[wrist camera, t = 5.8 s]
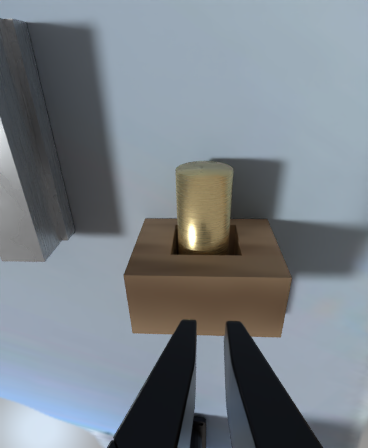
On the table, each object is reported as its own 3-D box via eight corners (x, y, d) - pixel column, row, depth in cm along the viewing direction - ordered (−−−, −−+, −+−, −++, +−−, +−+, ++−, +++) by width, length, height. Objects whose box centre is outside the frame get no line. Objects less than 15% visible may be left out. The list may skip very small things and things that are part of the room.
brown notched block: (256, 310, 23) (272, 384, 17) (154, 307, 23) (139, 378, 18) (267, 218, 19) (291, 278, 14) (145, 218, 19) (123, 275, 14)
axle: (224, 297, 21) (223, 330, 18) (183, 294, 21) (177, 325, 19) (233, 161, 16) (233, 179, 14) (180, 160, 17) (170, 178, 14)
